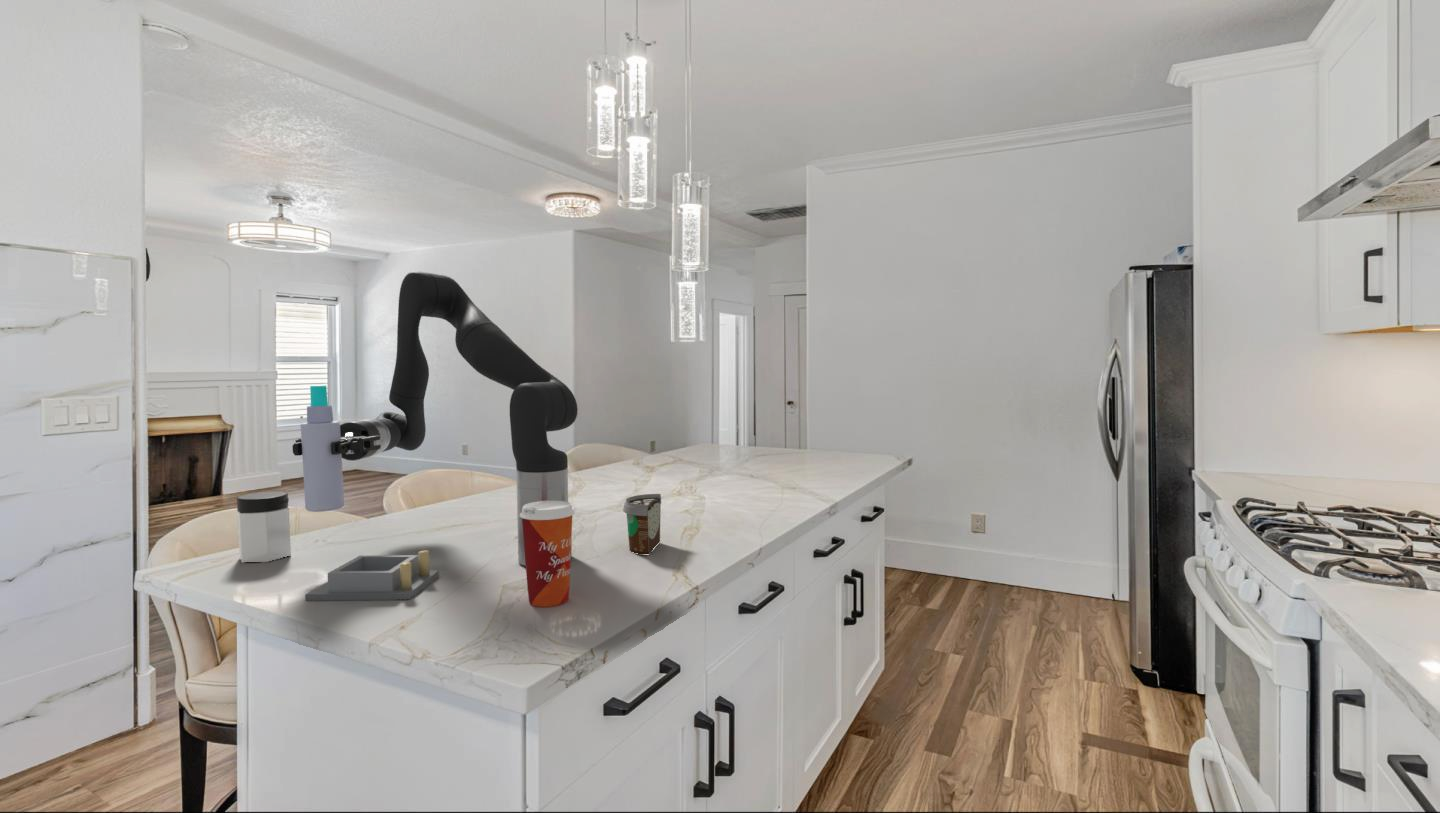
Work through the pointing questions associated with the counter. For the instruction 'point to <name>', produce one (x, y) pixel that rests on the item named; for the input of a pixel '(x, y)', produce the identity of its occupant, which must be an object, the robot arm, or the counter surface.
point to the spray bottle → (321, 455)
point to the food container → (643, 522)
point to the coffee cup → (547, 551)
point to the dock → (377, 578)
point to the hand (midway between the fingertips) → (314, 449)
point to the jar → (263, 526)
